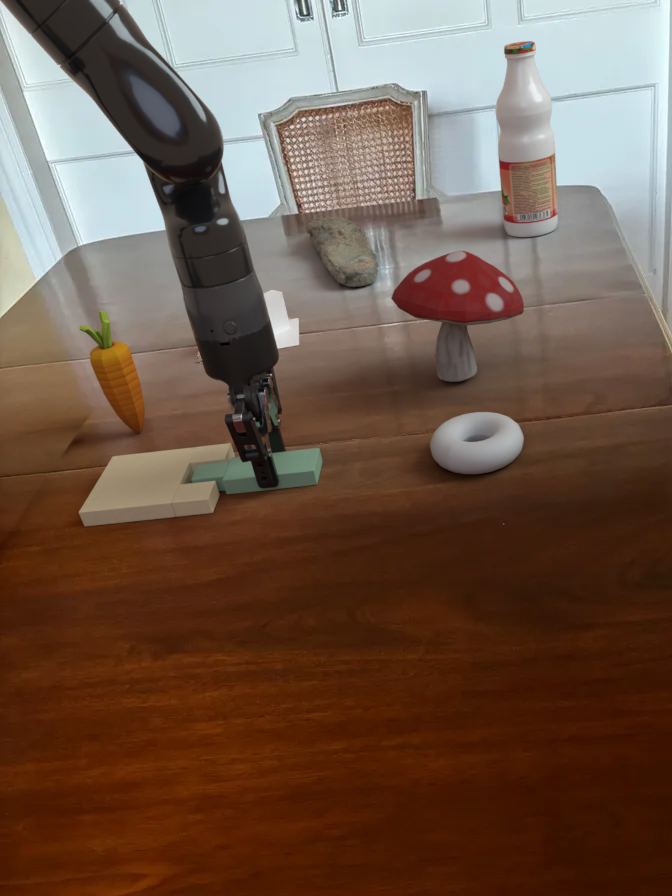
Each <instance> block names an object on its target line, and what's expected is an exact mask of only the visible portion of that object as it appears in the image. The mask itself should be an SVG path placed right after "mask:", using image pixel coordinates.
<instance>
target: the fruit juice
mask: <svg viewBox="0 0 672 896" xmlns="http://www.w3.org/2000/svg"><path fill="white" fill-rule="evenodd" d="M536 50H537V46H536V42H535V41H532V40H527V41H517V42H511V43H508V44H505V45H504V47H503V54H504V58H505V59H506V70H505V75H504V82H503V86H502V88H501V91H500V93H499V95H498V97H497V99H496V101H495V117H496V121H497V124H498V126H499V136H498V140H497V156H498V157H497V158H498V166H499V167H498V168H499V178H500V188H501V189H500V190H501V202H502V203H501V204H502V213H503V214H502V217H503V227H504V231H505V233H506V234H507V235H508V236H511V237H515V238H533V237H539V236H543V235H546V234H549V233H550V234H551V232H554V231H556V229H557V228H558V225H559V208H558V206H559V205H558V204H559V203H558V186H557V185H558V183H557V167H556V165H557V162H556V145H555V144H556V143H555V136H554V132H553V129H552V127H551V119H552V117H551V116H552V111H553V103H552V97H551V94H550V92H549V91H548V89H547V88H546V87H545V85H544V83H543V81H542V80H541V77H540V75H539V71H538V68H537V65H536V60H535V55H536V53H537V52H536Z"/></svg>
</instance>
